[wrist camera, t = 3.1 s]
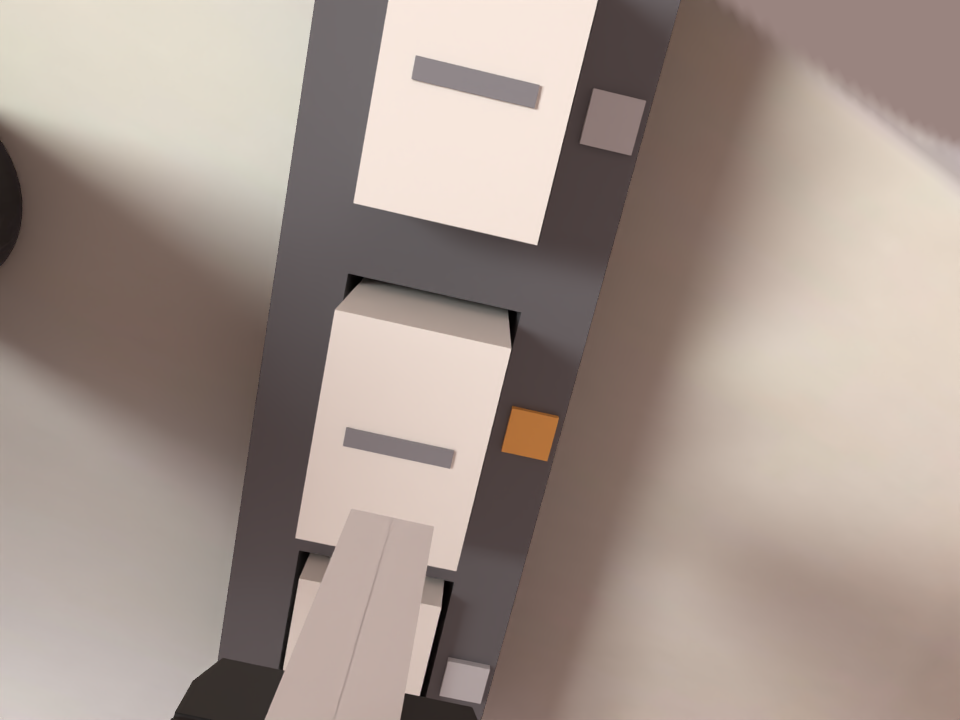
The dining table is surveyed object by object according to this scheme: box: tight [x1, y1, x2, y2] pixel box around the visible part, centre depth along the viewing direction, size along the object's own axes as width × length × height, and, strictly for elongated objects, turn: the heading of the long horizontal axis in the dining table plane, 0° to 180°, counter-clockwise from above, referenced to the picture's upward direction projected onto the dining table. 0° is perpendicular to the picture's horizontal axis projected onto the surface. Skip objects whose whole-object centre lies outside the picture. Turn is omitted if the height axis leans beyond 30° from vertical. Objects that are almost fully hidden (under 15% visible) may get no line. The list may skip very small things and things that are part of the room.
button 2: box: [295, 277, 511, 571], centre depth 21 cm, size 4×6×5 cm
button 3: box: [353, 0, 598, 245], centre depth 19 cm, size 4×6×5 cm
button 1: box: [283, 553, 444, 696], centre depth 26 cm, size 4×6×5 cm
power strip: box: [218, 0, 681, 720], centre depth 23 cm, size 9×36×5 cm, turn 167°
